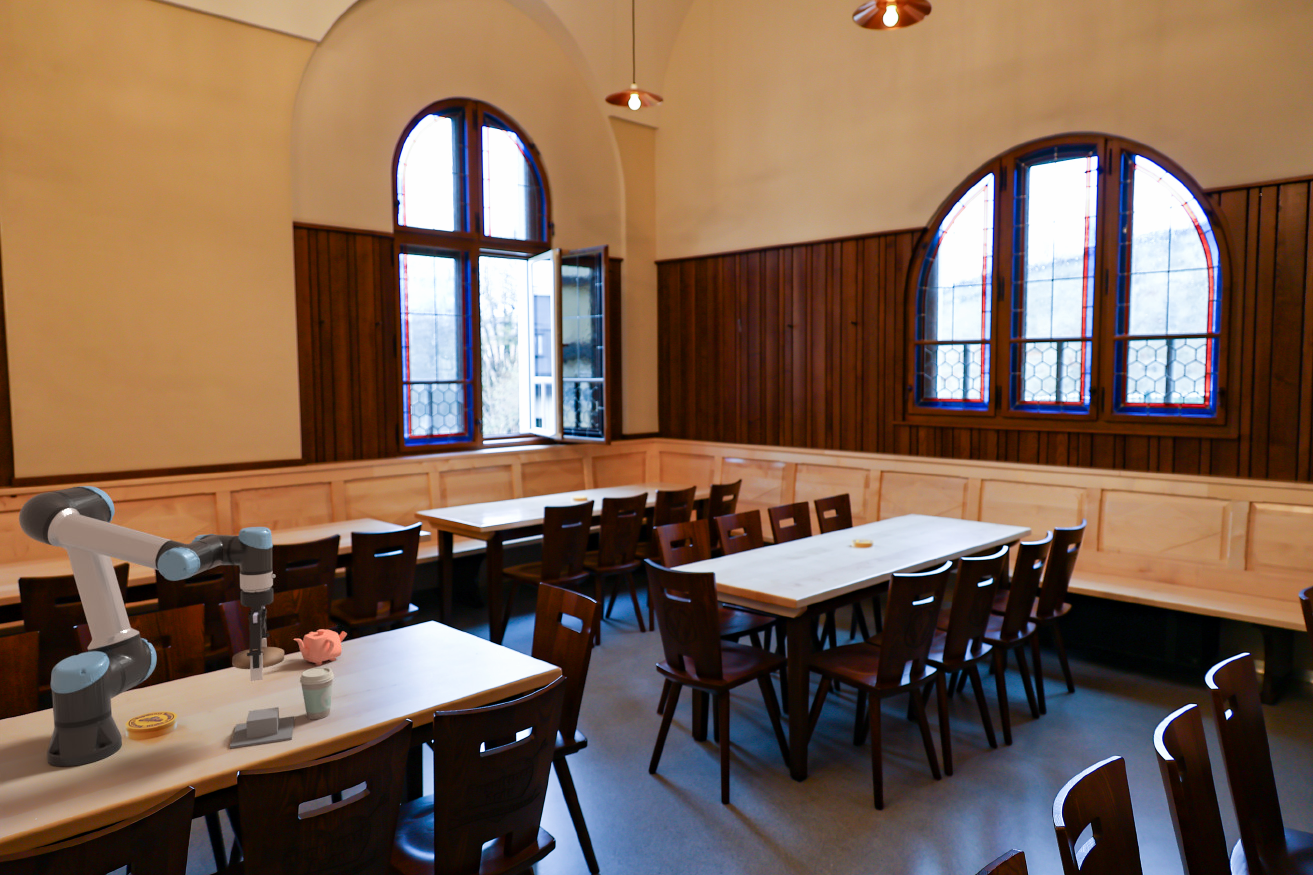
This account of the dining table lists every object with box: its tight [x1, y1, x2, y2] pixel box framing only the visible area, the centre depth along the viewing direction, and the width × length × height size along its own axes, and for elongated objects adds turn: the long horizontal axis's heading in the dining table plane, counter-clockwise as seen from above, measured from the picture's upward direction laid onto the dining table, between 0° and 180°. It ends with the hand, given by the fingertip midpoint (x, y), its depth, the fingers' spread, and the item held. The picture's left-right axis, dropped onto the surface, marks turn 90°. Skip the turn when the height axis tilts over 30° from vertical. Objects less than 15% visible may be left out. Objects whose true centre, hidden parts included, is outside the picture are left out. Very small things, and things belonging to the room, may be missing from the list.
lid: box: [231, 646, 285, 670], centre depth 214 cm, size 12×12×3 cm
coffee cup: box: [299, 666, 335, 720], centre depth 226 cm, size 8×8×12 cm
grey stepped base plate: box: [229, 706, 295, 750], centre depth 215 cm, size 14×14×5 cm
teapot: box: [293, 629, 348, 666], centre depth 269 cm, size 14×12×10 cm
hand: (259, 671), depth 214 cm, fingers closed on lid, 12 cm apart
